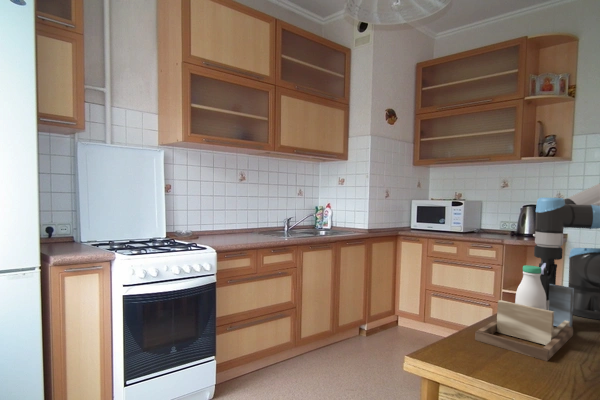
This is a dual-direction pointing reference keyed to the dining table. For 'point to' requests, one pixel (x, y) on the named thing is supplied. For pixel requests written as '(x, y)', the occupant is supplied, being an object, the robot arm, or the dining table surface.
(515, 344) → the dark wooden tray
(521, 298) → the milk bottle
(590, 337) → the dining table surface
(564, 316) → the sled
